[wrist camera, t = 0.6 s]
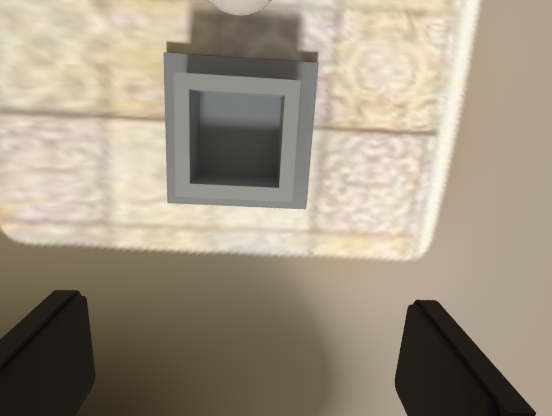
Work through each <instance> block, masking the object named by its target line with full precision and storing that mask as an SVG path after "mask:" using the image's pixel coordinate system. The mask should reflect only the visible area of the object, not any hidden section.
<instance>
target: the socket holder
mask: <svg viewBox="0 0 552 416" xmlns="http://www.w3.org/2000/svg"><path fill="white" fill-rule="evenodd" d="M317 75H318V63H314V62H299V61H285V60H270V59H255V58H240V57H226V56H211V55H196V54H181V53H167V52H164V85H165V123H166V161H167V199H168V203H179V204H201V205H223V206H245V207H267V208H289V209H306V204H307V193H308V181H309V169H310V157H311V145H312V134H313V122H314V110H315V98H316V86H317Z"/></svg>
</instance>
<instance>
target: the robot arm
mask: <svg viewBox="0 0 552 416" xmlns="http://www.w3.org/2000/svg"><path fill="white" fill-rule="evenodd" d="M94 380H95V367H94V359H93V350H92V341H91V333H90V323H89V315H88V306H87V299H86V297H85V296H81V294H80V292H79V291H76V290H55V291H54V292H52V293H51V294H50V295H49V296H48V297H47V298H46V299H45V300H43V301H42V302H41V303H40V304H39V305H38V306H37V307H36V308H35V309H33V310H32V311H31V312H30V313H29V314H28V315H27V316H26V317H25V318H23V320H21V321H20V322H19V323H18V324H17V325H16V326H15V327H14V328H13V329H11V330H10V331H9V332H8V333H7V334H6V335H5V336H4V337H2V338H1V339H0V416H76V414H77V412H78V411H79V409H80V407H81V405H82V404H83V402H84V401H85V399H86V397H87V395H88V394H89V392H90V390H91V389H92V387H93V384H94ZM395 388H396V391H397V394H398V396H399V398H400V400H401V402H402V404H403V407H404V409H405V411H406V413H407V415H408V416H535V415H536V412H535V411H534V410H533V409H532V408H531V406H530V405H529V404H528V403H527V402H526V401H525V400H524V399H523V397H522V396H521V395H520V394H519V393H518V392H517V391H516V389H515V388H514V387H513V386H512V385H511V384H510V383H509V382H508V381H507V379H506V378H505V377H504V376H503V375H502V374H501V373H500V371H499V370H498V369H497V368H496V367H495V366H494V365H493V363H492V362H491V361H490V360H489V359H488V358H487V357H486V356H485V354H484V353H483V352H482V351H481V350H480V349H479V348H478V347H477V345H476V344H475V343H474V342H473V341H472V340H471V338H470V337H469V336H468V335H467V334H466V333H465V332H464V331H463V329H462V328H461V327H460V326H459V325H458V324H457V323H456V321H455V320H454V319H453V318H452V317H451V316H450V315H449V314H448V313H447V312H446V310H445V309H444V308H443V307H442V306H441V305H440V303H439V302H437V301H435V300H416V301H415V302H414V304H413V305H409V306H408V309H407V314H406V320H405V326H404V332H403V337H402V342H401V348H400V354H399V359H398V364H397V370H396V375H395Z"/></svg>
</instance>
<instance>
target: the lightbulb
mask: <svg viewBox="0 0 552 416" xmlns="http://www.w3.org/2000/svg"><path fill="white" fill-rule="evenodd" d="M209 1H210V2H211V3H212V4H213V5H214V6H215V7H217V8H218V9H220V10H221V11H223V12H226V13H229V14H233V15H249V14H252V13H255V12H257V11H259V10H261V9H263V8H264V7H265V6H266V5H268V4H269V3H270V2H271V0H209Z"/></svg>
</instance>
